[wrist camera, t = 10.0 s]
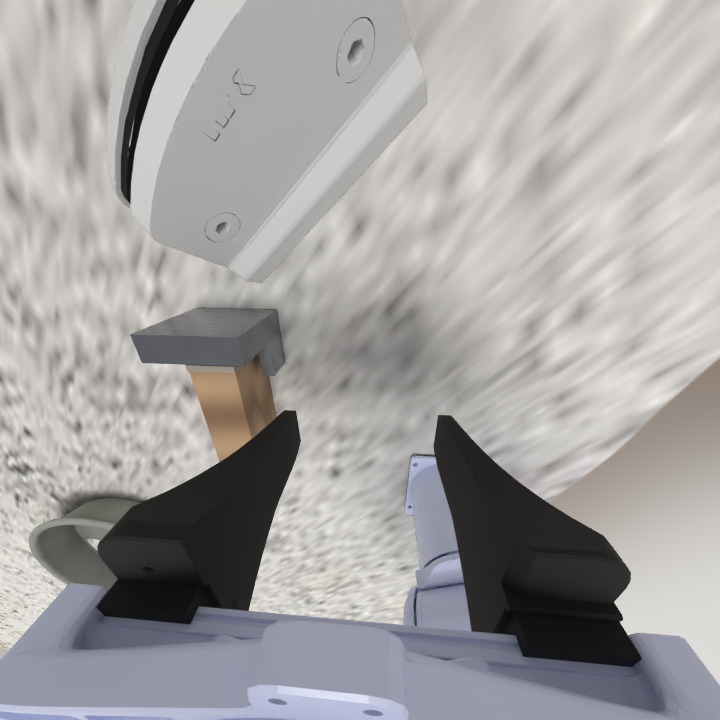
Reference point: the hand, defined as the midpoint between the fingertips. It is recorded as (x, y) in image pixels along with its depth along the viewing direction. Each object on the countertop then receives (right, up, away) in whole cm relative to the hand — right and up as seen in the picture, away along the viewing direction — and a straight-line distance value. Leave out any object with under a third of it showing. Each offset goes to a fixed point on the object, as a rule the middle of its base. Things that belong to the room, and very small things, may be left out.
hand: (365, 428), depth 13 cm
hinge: (-5, +17, +4) cm, 18 cm away
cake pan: (-34, -25, +27) cm, 50 cm away
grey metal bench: (-11, +6, +10) cm, 16 cm away
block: (-11, +1, +12) cm, 16 cm away
